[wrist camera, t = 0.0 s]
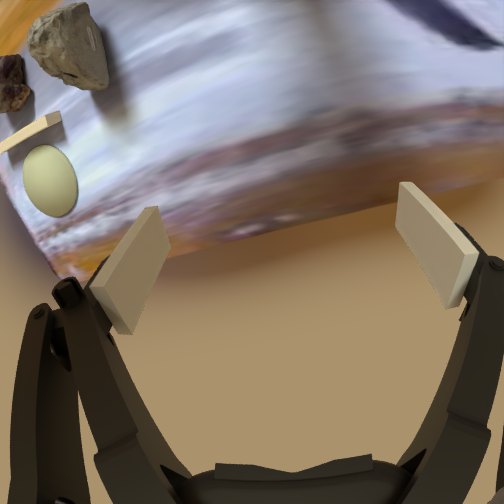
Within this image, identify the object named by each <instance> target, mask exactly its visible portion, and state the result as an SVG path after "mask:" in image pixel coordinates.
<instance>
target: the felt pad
mask: <svg viewBox="0 0 504 504" xmlns="http://www.w3.org/2000/svg"><path fill="white" fill-rule="evenodd" d="M23 183H24V187H25V190H26V193H27V195H28V197H29V199H30V200H31V202H32V203H33V204H34V206H35V207H36V208H37V209H38V210H40V211H41V212H43V213H44V214H46V215H49V216H53V217H58V216H62V215H64V214H66V213H67V212H68V211H69V210H70V209H71V208H72V207H73V205H74V203H75V201H76V197H77V179H76V175H75V172H74V169H73V167H72V165H71V163H70V161H69V160H68V158H67V157H66V156H65V154H64V153H63V152H62V151H60V150H59V149H58V148H56V147H54V146H51V145H40V146H38V147H36V148H34V149H32V150H31V151H30V152H29V154H28V155H27V157H26V159H25V161H24V165H23Z"/></svg>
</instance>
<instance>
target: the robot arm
mask: <svg viewBox="0 0 504 504" xmlns="http://www.w3.org/2000/svg"><path fill="white" fill-rule="evenodd" d="M395 227H396V229H397V230H398V232H399V233H400V235H401V236H402V238H403V239H404V241H405V242H406V244H407V245H408V247H409V248H410V250H411V251H412V253H413V255H414V256H415V258H416V259H417V261H418V262H419V264H420V265H421V267H422V269H423V271H424V272H425V274H426V276H427V277H428V279H429V281H430V283H431V284H432V286H433V288H434V290H435V291H436V293H437V295H438V297H439V299H440V300H441V302H442V304H443V306H444V308H445V309H449V308H453V307H458V306H459V305H460V303H461V300H462V298H463V296H464V297H465V298H466V300H467V304H466V306H465V308H464V311H463V313H462V315H461V317H460V319H459V321H461V324H460V328H459V331H458V334H457V338H456V341H455V344H454V347H453V350H452V353H451V356H450V359H449V362H448V365H447V367H446V370H445V373H444V375H443V378H442V381H441V383H440V385H439V388H438V391H437V393H436V395H435V397H434V400H433V402H432V404H431V406H430V408H429V411H428V413H427V415H426V417H425V419H424V421H423V423H422V425H421V427H420V429H419V431H418V433H417V435H416V437H415V438H414V440H413V442H412V444H411V445H410V446H409V448H408V449H407V450H406V452H405V453H404V454H403V455H402V457H401V459H400V460H399V461H398V463H397V464H396V465H395V464H392V463H388V462H384V461H378V460H372V454H368V455H362V456H357V457H351V458H344V459H337V460H333V461H330V462H327V463H324V464H321V465H319V466H315V467H313V468H309V469H306V470H303V471H299V472H295V473H290V472H284V471H280V470H274V469H270V468H264V467H261V466H256V465H243V464H222V463H216V464H215V470H210V471H206V472H202V473H200V474H197V475H194V476H192V475H191V473H190V472H189V471H188V470H187V469H186V467H184V465H183V464H182V463H181V462H180V461H179V460H178V459H177V458H176V456H175V455H174V453H173V452H172V450H171V448H170V447H169V445H168V444H167V442H166V441H165V439H164V437H163V436H162V434H161V432H160V431H159V429H158V427H157V426H156V424H155V422H154V420H153V419H152V417H151V415H150V413H149V411H148V410H147V408H146V406H145V404H144V402H143V400H142V398H141V397H140V395H139V393H138V391H137V389H136V387H135V385H134V383H133V381H132V379H131V377H130V374H129V372H128V370H127V368H126V366H125V364H124V362H123V360H122V357H121V355H120V353H119V351H118V348H117V346H116V343H115V341H114V338H113V336H112V335H111V334H110V332H109V331H110V329H111V327H112V325H113V327H114V328H115V330H116V331H117V333H118V334H127V335H132V334H133V332H134V330H135V327H136V325H137V323H138V320H139V318H140V315H141V313H142V311H143V308H144V306H145V303H146V301H147V299H148V297H149V294H150V292H151V290H152V287H153V285H154V283H155V281H156V278H157V276H158V274H159V272H160V269H161V267H162V265H163V263H164V261H165V259H166V257H167V255H168V253H169V250H170V248H171V246H170V243H169V240H168V237H167V234H166V231H165V228H164V225H163V222H162V219H161V215H160V212H159V209H158V206H153V207H147V208H145V209H144V210H143V211H142V213H141V214H140V215H139V217H138V218H137V219H136V221H135V222H134V223H133V225H132V226H131V227H130V229H129V230H128V231H127V233H126V234H125V235H124V237H123V238H122V239H121V241H120V242H119V244H118V245H117V246H116V248H115V249H114V251H113V252H112V254H111V255H109V256H108V257H107V258H106V259H104V260H103V261H102V262H101V264H100V265H99V267H98V268H97V270H96V271H95V272H94V274H93V276H92V277H91V278H90V280H89V281H88V283H87V285H86V286H85V288H84V289H82V287H81V286H80V284H79V282H78V280H77V279H76V277H67V278H65V279H63V280H62V281H60V282H59V283H58V284H57V285H56V286H55V287H54V289H53V290H52V295H53V297H54V299H55V300H56V302H57V303H58V305H59V306H60V309H57V310H53V311H52V309H51V308H50V306H49V305H48V304H47V303H42V304H40V305H37V306H36V307H35V308H33V310H32V311H31V312H30V314H29V317H28V320H27V323H26V328H25V332H24V336H23V340H22V345H21V350H20V354H19V360H18V365H17V371H16V377H15V384H14V393H13V401H12V413H11V429H10V467H11V481H10V487H9V494H8V503H7V504H91V503H90V494H89V487H88V482H87V476H86V471H85V465H84V458H83V451H82V444H81V434H80V423H79V409H78V391H79V395H80V399H81V402H82V405H83V409H84V412H85V415H86V418H87V421H88V424H89V426H90V429H91V432H92V435H93V437H94V440H95V442H96V445H97V448H98V453H96V454H95V455H94V462H95V466H96V469H97V471H98V473H99V475H100V478H101V480H102V482H103V484H104V486H105V488H106V490H107V492H108V494H109V497H110V499H111V500H112V502H113V504H462V503H463V502H464V500H465V498H466V496H467V494H468V492H469V490H470V488H471V486H472V484H473V481H474V479H475V477H476V475H477V473H478V470H479V468H480V465H481V463H482V461H483V458H484V455H485V453H486V450H487V448H488V445H489V442H490V438H491V430H489V429H488V428H487V422H488V419H489V415H490V412H491V409H492V405H493V401H494V397H495V394H496V389H497V385H498V380H499V376H500V371H501V366H502V361H503V355H504V261H503V260H502V259H500V258H498V257H496V256H488V255H487V254H486V253H485V252H484V250H483V249H482V248H481V247H480V246H479V245H478V244H477V242H476V241H474V239H473V238H472V237H471V236H470V235H469V233H468V232H467V231H466V230H465V229H464V228H463V227H461V226H460V225H458V224H457V223H453V222H452V221H451V220H450V219H449V218H448V217H447V216H446V215H445V214H444V213H443V212H442V211H441V210H440V209H439V208H438V207H437V206H436V205H435V204H434V203H433V202H432V201H431V200H430V199H429V198H428V197H427V196H426V195H425V194H424V193H423V192H422V191H421V190H420V189H419V188H418V187H417V186H415V185H414V184H413V183H412V182H399V194H398V205H397V214H396V223H395ZM51 351H52V352H51ZM487 504H504V427H503V437H502V445H501V452H500V459H499V465H498V471H497V481H496V494H495V495H494V497H493V498H492V500H491V501H489V502H488V503H487Z"/></svg>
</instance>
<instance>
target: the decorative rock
mask: <svg viewBox="0 0 504 504" xmlns="http://www.w3.org/2000/svg"><path fill="white" fill-rule="evenodd" d="M27 40H28V49H29V53H30V55H31V56H32V57H33V58H35V60H36V61H37V62H38V64H39V66H40V67H42V68H43V70H44V71H45V72H46V73H48V74H50V75H51V76H52V77H58V78H59V79H62V80H63V83H64V84H66V85H72V86H75V87H77V88H79V89H81V90H93V89H94V90H97V91H101V90H104V89H107V88H108V85H109V74H108V70H107V60H106V55H105V50H104V47H103V43H102V37H101V33H100V30H99V28H98V26H97V24H96V23H95V22H94V20H93V19H92V17H91V16H90V11H89V6H88V4H87V3H86V2H81V3H72V4H70V5H67V6H66V7H63V8H59V9H57V10H53V11H50V12H49V13H47V14H45V15H44V16H42V17H39V18H37V19H36V20H35V21H34V22H33V25H32V26H31V28H30V29H29V30H28V37H27Z"/></svg>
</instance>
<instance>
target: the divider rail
mask: <svg viewBox="0 0 504 504" xmlns="http://www.w3.org/2000/svg"><path fill="white" fill-rule="evenodd" d="M60 121H62V120H61V116H60V112H59V111H56V112H53V113H50V114H47V115H45V116H43V117H41V118H39V119H38V120H36V121H34V122H32V123H31V124H29V125H27V126H26V127H24V128H22V129H21V130H19V131H18V132H16V133H15V134H13V135H12V136H10V137H8V138H7V139H5V140H4V141H3V142H1V143H0V154H2V153H4V152H6V151H7V150H9V149H11V148H12V147H14V146H16V145H17V144H19V143H21V142H22V141H24V140H26V139H28V138H29V137H31V136H33V135H35V134H37V133H38V132H40V131H42V130H44V129H46V128H48V127H50V126H52V125H54V124H56V123H58V122H60Z"/></svg>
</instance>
